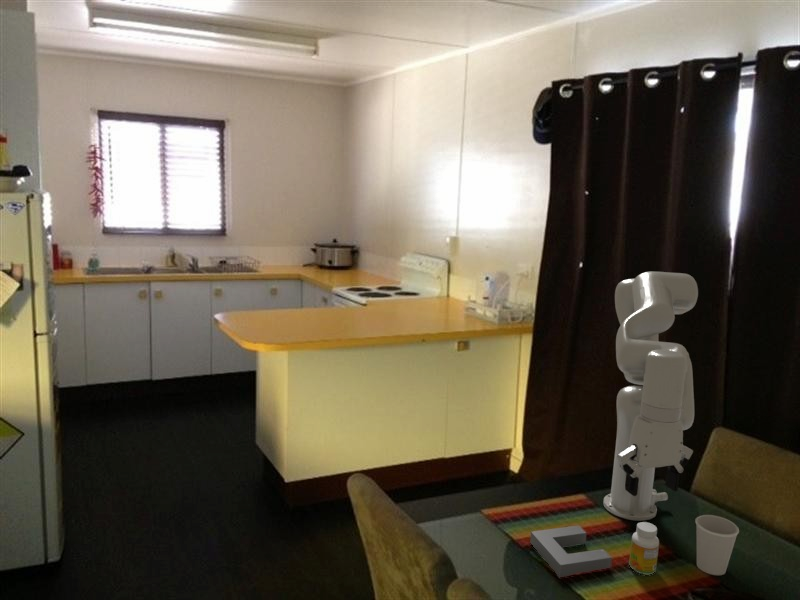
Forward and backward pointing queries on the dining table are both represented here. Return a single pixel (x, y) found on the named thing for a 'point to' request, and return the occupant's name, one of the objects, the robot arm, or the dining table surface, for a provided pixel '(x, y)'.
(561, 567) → the side entry holder
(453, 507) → the dining table surface
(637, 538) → the supplement bottle
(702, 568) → the dixie cup
